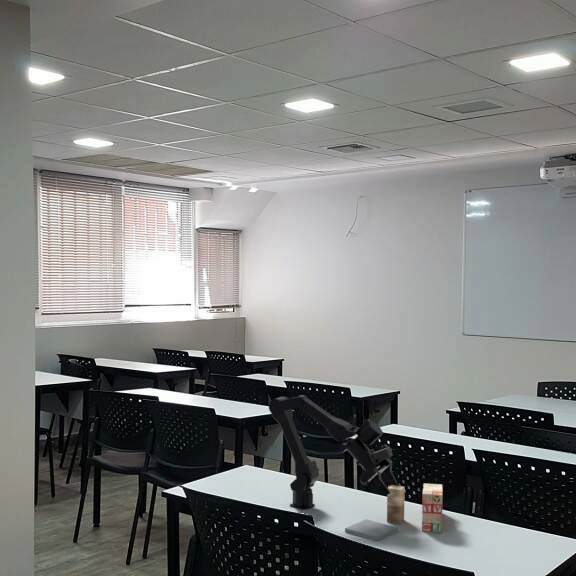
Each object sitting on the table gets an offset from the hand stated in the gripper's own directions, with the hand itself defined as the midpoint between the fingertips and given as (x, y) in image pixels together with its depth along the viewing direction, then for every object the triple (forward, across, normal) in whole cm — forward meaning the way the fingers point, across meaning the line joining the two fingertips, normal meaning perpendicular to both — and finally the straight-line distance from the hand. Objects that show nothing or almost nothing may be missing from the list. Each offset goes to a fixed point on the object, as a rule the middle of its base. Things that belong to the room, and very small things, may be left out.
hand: (393, 490), depth 238 cm
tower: (+8, 0, +6) cm, 10 cm away
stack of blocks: (+16, +5, -1) cm, 17 cm away
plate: (+5, -14, +9) cm, 17 cm away
